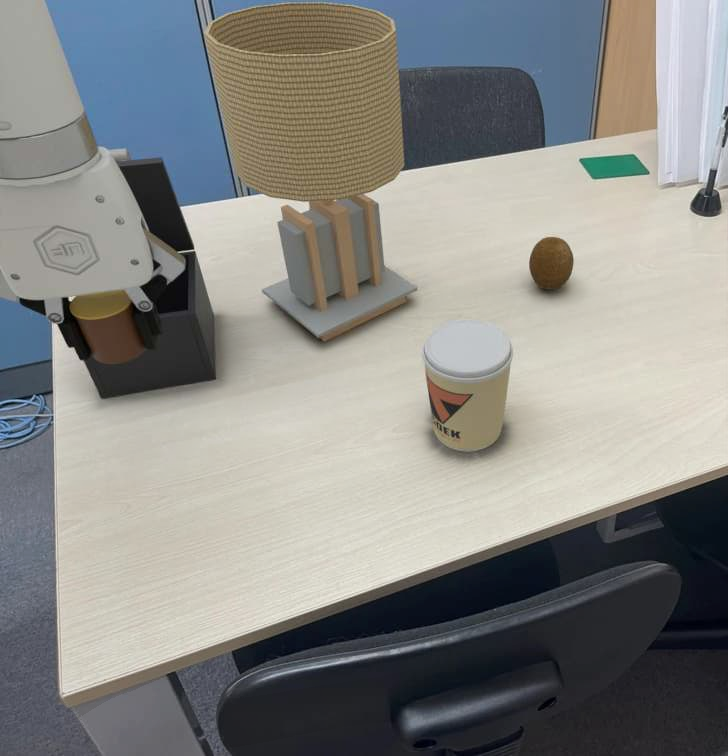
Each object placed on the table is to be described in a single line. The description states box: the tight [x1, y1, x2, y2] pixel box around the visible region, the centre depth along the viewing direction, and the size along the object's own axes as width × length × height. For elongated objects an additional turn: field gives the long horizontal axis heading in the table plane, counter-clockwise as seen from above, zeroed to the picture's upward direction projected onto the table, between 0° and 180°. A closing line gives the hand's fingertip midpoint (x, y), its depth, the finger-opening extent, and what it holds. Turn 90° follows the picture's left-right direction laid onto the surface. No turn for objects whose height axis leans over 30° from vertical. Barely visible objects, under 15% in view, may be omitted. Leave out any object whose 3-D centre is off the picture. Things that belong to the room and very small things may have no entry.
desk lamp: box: [203, 1, 418, 343], centre depth 86 cm, size 20×20×35 cm
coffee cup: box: [421, 318, 514, 453], centre depth 76 cm, size 9×9×12 cm
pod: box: [70, 290, 146, 364], centre depth 61 cm, size 5×5×5 cm
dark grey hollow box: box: [82, 250, 217, 400], centre depth 85 cm, size 14×13×10 cm
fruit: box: [528, 236, 575, 290], centre depth 100 cm, size 6×6×8 cm
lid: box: [107, 147, 195, 253], centre depth 81 cm, size 14×13×5 cm
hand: (119, 343), depth 62 cm, fingers closed on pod, 4 cm apart
